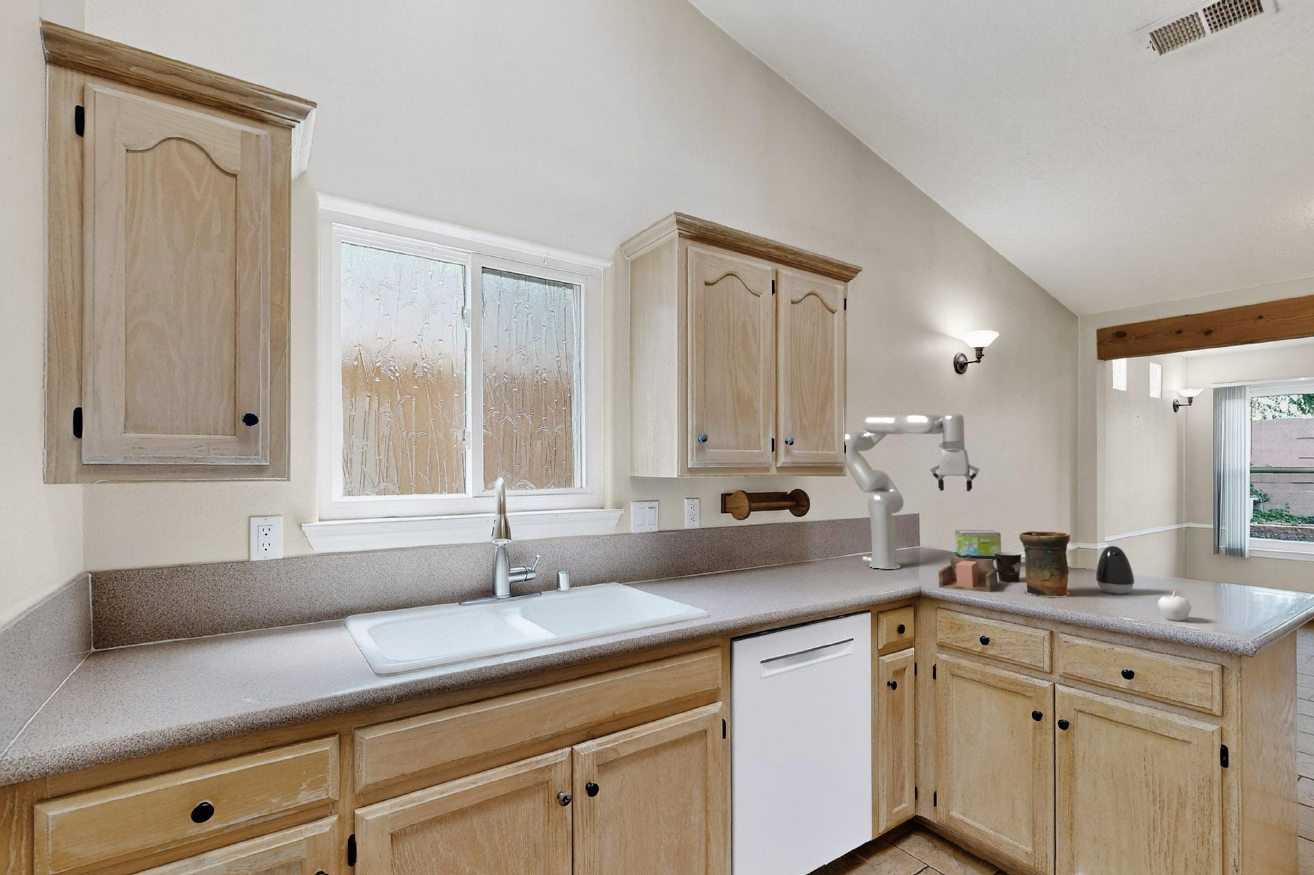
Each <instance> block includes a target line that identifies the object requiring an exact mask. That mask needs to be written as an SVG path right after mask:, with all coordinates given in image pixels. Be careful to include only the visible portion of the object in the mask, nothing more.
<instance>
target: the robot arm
mask: <svg viewBox="0 0 1314 875" xmlns="http://www.w3.org/2000/svg"><path fill="white" fill-rule="evenodd" d="M862 428H863V431H848V432H846V433H844V434H845V445H846V465H845V466H846V468H847V470H848V471H849V473H850V475H851V476H852V478H853V479H854V481H855V483H856V485H858V486H857V487H858V488H859V489H860V490H861V491H862V492H864V493H866V494H867V493H868V494H869V493H870V494H871V493H873V494H872V495H871V496H870V497H869V498H868V501H867V509H868V515H869V519H870V531H871V534H870V535H871V556H863V557H862V561H863V562H866V563H868V562H869V563H868V567H869V566H870V567H872V568H871V569H873V568H886V569H893V568H899V569H901V568H900V567H901V565H900V564H898V563H897V547H896V545H897V544H896V526H895V525H896V524H895V519H894V517H893V516H894V515H893V514H896V513H898V512H900V511H901V510H902V509H903V507H904V505H905V504H904V498H903V496H902V494H901V492H900V491H899V489H898V488H897V486H896V485H895V484H894V482H893V480H892V478H891V477H890V476H889V475H888V474H887V473H886V472H885V471H882V470H875V469H873V468H872V466H870V464H869V463H868V461H867V459H866V458H865V457H864V456H863V455H862V454H861V453H860V452H867V451H869V450H871V449H872V448H874V447H875V446H876V445H877V444H879V443H880V442H881V441H882V440H883V439H884V438H885V437H886V436H887V435H903V434H918V435H921V434H923V435H940V434H942V442H941V443H939V444H938V445H939V446H938V447H939V448H942V449H941V450H940V454H939V462H938V463H939V464H938V465H936V466H934V467H932V468H931V469H930V472H931V473H932V475H933V477H934V478H935V479H936V480H937V481H938V485H937V486H938V489H939V491H941V492H942V491H944V490H945V485H944V484H945V483H944V481H945V480H944V478H945V476H948V477H950V476H952V477H953V476H955V477H958V476H960V477H961V476H962V477H963V476H964V478H966V492H971V490H972V489H973V480H974V479H976V477H977V476H978V473H979V472H980V469H979V468H978V467H976V466H974V465H971V464H970V462H969V456H968V455H969V454H968V450H967V449H966V448H965V447H966V446H965V445H966V444H965V418H964V416H963V415H962V414H957V413H956V414H945V415H937V414H903V413H870V414H868V415H866V416H865V417H864V418H863V421H862ZM938 470H939V471H938ZM970 470H972V471H973V473H972V474H971V475H970ZM937 471H938V472H939V474H938V473H937ZM870 567H869V568H870Z"/></svg>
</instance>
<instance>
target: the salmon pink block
mask: <svg viewBox="0 0 1314 875" xmlns="http://www.w3.org/2000/svg"><path fill="white" fill-rule="evenodd" d="M956 575H957V586H960V587H971V588H973V587H974V586H975V585H977V584H978V583H979V580H978V562H975V561H961V562H959V563H958V564H956Z"/></svg>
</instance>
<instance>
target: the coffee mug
mask: <svg viewBox="0 0 1314 875" xmlns="http://www.w3.org/2000/svg"><path fill="white" fill-rule="evenodd" d="M992 560H993V561H994V560H996V564H997V568H995V567H994V569H997V577H998V581H999V582H1002V583H1012V582H1014V583H1020V578H1021V577H1020V574H1021V564H1022V553H1021V552H1017V551H1016V552H1015V551H1001V552H995V558H993V559H992Z"/></svg>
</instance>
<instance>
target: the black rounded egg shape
mask: <svg viewBox="0 0 1314 875" xmlns="http://www.w3.org/2000/svg"><path fill="white" fill-rule="evenodd" d="M1134 577H1135V576H1134V573H1133V570H1132V566H1131V564H1130V561H1129V559H1128V556H1127V554H1126V553H1125V552H1124V551H1123V549H1122V548H1120V547H1118V546H1115V545H1110V546H1107V547H1105V548H1104V549H1103V551H1101V554H1100V557H1099V559H1098V563H1097V567H1096V574H1095V581H1096V582H1097V585H1098V586H1099V588H1100V589H1101V590H1102V591H1104V592H1105V593H1108V594H1112V593H1114V595H1125V594H1128V593H1129V592H1131V590H1132V589H1133V587H1134V584H1135V578H1134Z"/></svg>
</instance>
